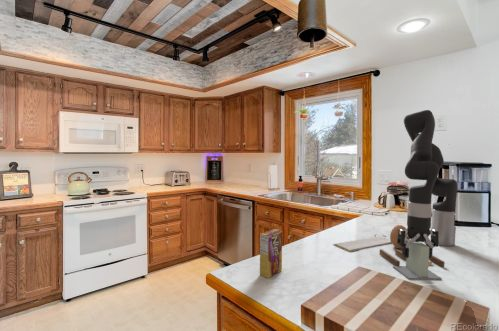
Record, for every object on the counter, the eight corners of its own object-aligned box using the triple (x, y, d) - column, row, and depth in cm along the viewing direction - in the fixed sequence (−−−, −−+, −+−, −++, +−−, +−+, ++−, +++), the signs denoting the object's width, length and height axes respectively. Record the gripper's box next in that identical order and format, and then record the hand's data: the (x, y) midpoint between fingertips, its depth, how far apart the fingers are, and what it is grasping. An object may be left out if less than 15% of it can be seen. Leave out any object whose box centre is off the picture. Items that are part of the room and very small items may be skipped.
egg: (385, 246, 129) (386, 223, 129) (398, 244, 132) (399, 222, 132) (400, 252, 121) (401, 228, 121) (413, 250, 124) (414, 226, 124)
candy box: (272, 267, 102) (273, 228, 102) (282, 270, 100) (283, 230, 99) (258, 274, 96) (259, 233, 95) (268, 278, 93) (269, 236, 92)
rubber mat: (422, 268, 105) (422, 266, 105) (441, 280, 95) (441, 278, 95) (392, 267, 104) (392, 265, 104) (408, 280, 94) (408, 277, 94)
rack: (421, 255, 118) (422, 249, 118) (444, 267, 105) (444, 261, 105) (379, 254, 118) (379, 249, 118) (396, 267, 105) (396, 261, 105)
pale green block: (413, 267, 103) (414, 239, 103) (427, 276, 96) (429, 246, 95) (405, 267, 103) (407, 239, 103) (419, 276, 95) (421, 246, 95)
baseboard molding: (330, 244, 131) (349, 253, 121) (330, 239, 131) (349, 247, 121) (373, 237, 145) (394, 244, 134) (374, 232, 145) (394, 238, 134)
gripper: (430, 212, 102) (428, 253, 103) (394, 211, 102) (392, 253, 103) (445, 217, 95) (443, 261, 96) (406, 216, 94) (404, 261, 95)
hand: (416, 257), depth 99 cm, fingers open, 8 cm apart
